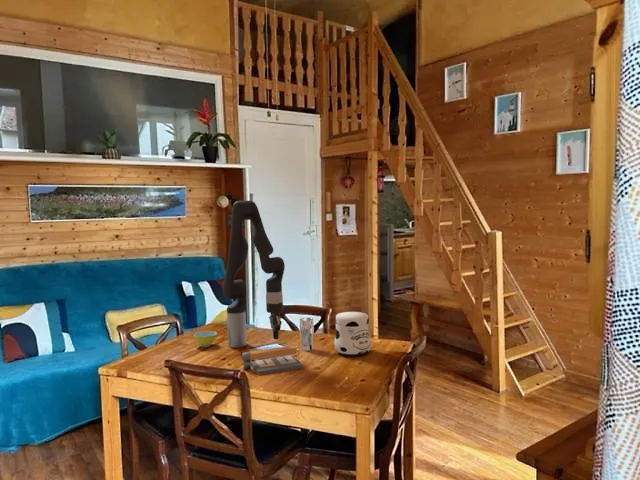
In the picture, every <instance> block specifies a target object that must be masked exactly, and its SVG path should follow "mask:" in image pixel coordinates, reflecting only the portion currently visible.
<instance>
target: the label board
mask: <svg viewBox="0 0 640 480" xmlns="http://www.w3.org/2000/svg"><path fill="white" fill-rule="evenodd" d="M250 361H251V368H252V367H253V368H252V369H253V370H254V371H256V372H255V373H256V375H257V374H261V375H266V374H265V373H268V374H274V373H281V372H286V371H287V372H288V371H292V370H293V371H294V370H300V369H304V364H303V363H302V362H301V361H299V359H298V358H297V357H296V356H295V355H284V356H277V357H272V358H262V359H255V360H253V361H252V360H250ZM273 372H274V373H273Z"/></svg>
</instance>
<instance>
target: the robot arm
mask: <svg viewBox="0 0 640 480" xmlns="http://www.w3.org/2000/svg"><path fill="white" fill-rule="evenodd" d="M244 221H250V222H251V223H252V226H253V232H252V234H253V235H252V242H253V245H254V247H255V249H256V251H257V253H258V255H259V257H258V258H259V261H260V262H259V263H260V267H261V270H262V271H263V273H265V274H267V275H268V274H272V276H271V277H268V279H266V282H265V292H266V293H265V303H266V305H265V307H266V312H267V313H269V314H270V315H269V317H268V318H269V323H270V328H271V330H272V338H273V340H278V339H279V338H280V337H279V335H280V334H279V331H281V327H282V320H281V316H280V313H282V312H284V299H283V297H284V295H283V287H282V284H283V283H282V282H283V277H284V274H285V273H284V272H285V267H286V266H285V265H286V264H285V262H284V260H283V258H282V257H280V256H273V257H270V256H271V255H272V254H273V253H274V247H273V245H272V243H271V241H270V239H269V237H268V235H267V233H266V230H265V227H264V224H263V221H262V217H261V215H260V212H259V208H258V206H257V203H256V202H255V201H253V200H237V201H235V202H234V203H233V205H232V208H231V223H230V225H231V228H230V240H229V245H228V253H227V254H228V255H227V264H226V271H225V275H224V278H223V279H224V280H223V285H222V294H223V295H222V296H223V298H224V299H225V300H234V301H233V302H232V303H231V304H230V305H227V307H226V319H227V324H226V325H227V343H228V344H227V345H228V346H227V347H229V348H242V347H245V346H247V345H248V344H247V318H246V316H247V315H246V307H247V286H246V283H245V281H244V280H243V279H236V276H237V274H238V272H239V271H240V269H241V268H242V267H243V265H244V264H245V263H246V262H247V261H246V260H248V259H247V258H248V252H249V243H248V240H247V239H246V237H245V235H244V233H243V222H244Z"/></svg>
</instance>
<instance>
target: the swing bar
mask: <svg viewBox="0 0 640 480" xmlns="http://www.w3.org/2000/svg"><path fill="white" fill-rule="evenodd" d="M297 352H298V349H297V347H296V345H290V346H282V347H274V348H266V349H258V350H250V351H244V352H242V353H241V357H242V358H241V360H250V361H252V360H253V361H255V360H262V359H270V358H277V357H284V356H292V355H297V354H298V353H297Z"/></svg>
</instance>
